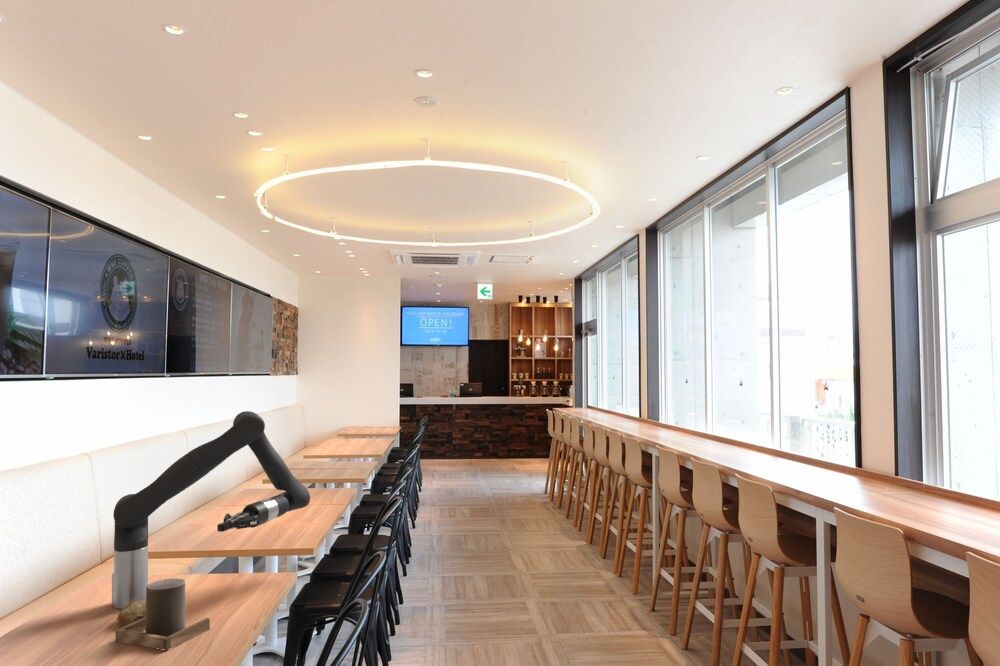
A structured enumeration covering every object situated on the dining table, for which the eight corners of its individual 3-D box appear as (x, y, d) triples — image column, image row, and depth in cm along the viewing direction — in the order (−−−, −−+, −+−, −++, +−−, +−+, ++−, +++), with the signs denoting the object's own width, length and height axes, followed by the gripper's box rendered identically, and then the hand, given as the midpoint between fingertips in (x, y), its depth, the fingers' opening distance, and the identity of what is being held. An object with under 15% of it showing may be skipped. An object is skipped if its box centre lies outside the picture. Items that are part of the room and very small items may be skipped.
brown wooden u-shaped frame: (115, 641, 174) (115, 630, 174) (160, 621, 187) (160, 610, 187) (166, 651, 167) (166, 639, 168) (209, 629, 181) (209, 618, 181)
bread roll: (125, 644, 181) (132, 620, 180) (107, 621, 186) (114, 598, 185) (159, 631, 190) (166, 608, 188) (142, 609, 195) (148, 587, 193)
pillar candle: (161, 644, 172) (162, 586, 172) (137, 638, 176) (138, 581, 177) (193, 630, 180) (193, 575, 181) (169, 624, 185) (170, 571, 185)
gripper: (245, 498, 216) (202, 513, 201) (276, 503, 211) (235, 518, 195) (245, 521, 217) (203, 537, 201) (276, 526, 211) (235, 543, 196)
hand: (219, 528), depth 198 cm, fingers closed
